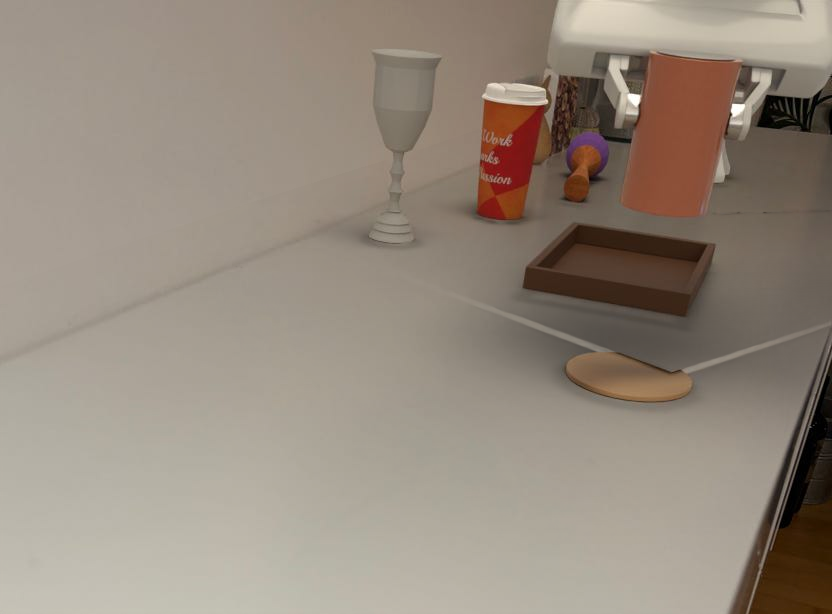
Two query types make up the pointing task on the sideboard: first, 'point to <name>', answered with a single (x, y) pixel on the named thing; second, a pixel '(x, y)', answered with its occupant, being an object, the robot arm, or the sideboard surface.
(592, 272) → the tray
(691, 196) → the cup
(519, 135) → the paper cup
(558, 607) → the sideboard surface
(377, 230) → the chalice
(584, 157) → the maraca
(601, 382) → the coaster
